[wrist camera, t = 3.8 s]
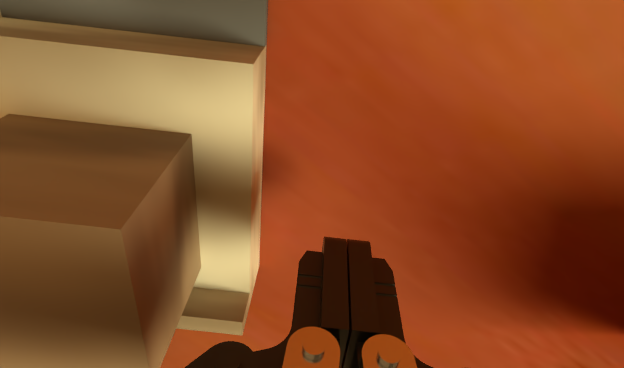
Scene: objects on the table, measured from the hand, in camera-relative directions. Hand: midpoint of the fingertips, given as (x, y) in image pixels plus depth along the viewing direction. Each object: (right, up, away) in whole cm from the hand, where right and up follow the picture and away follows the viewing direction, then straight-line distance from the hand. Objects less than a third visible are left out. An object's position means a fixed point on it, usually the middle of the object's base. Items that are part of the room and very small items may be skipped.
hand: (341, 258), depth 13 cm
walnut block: (-8, +2, +1) cm, 9 cm away
